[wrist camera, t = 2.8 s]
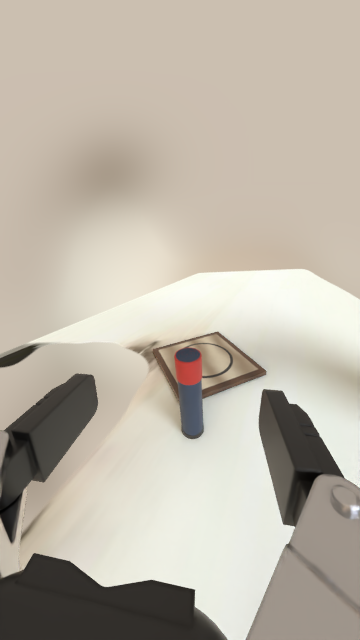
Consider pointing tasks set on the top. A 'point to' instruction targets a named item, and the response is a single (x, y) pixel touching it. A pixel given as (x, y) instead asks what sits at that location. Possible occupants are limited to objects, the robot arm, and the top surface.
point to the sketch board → (211, 363)
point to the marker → (190, 390)
